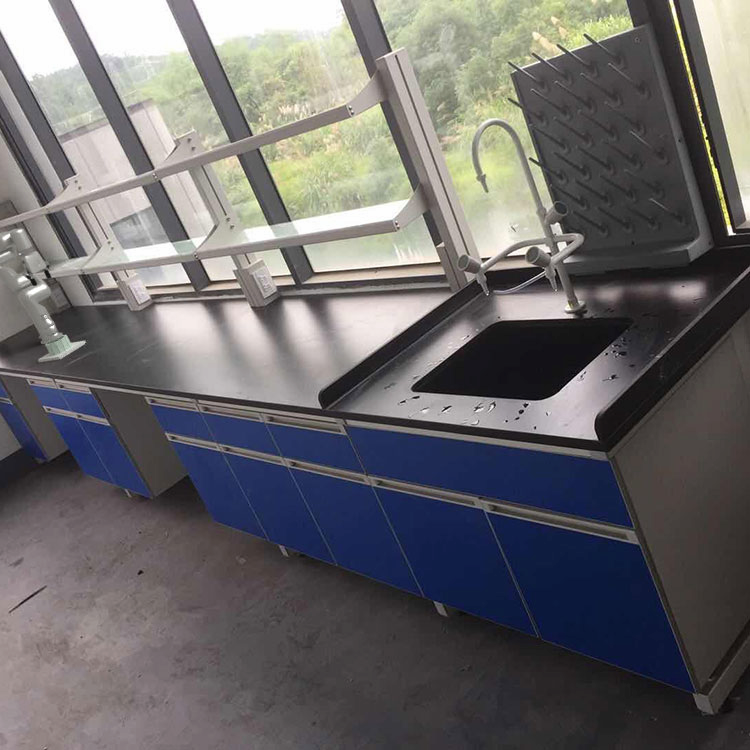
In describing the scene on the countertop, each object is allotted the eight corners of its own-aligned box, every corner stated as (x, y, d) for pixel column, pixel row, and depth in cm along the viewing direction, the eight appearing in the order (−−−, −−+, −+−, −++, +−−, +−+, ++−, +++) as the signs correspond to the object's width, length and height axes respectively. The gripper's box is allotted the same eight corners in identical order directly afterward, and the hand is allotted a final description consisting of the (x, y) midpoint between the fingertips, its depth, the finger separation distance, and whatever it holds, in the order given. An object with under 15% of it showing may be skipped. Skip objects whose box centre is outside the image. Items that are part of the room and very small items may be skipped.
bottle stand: (39, 362, 414) (32, 349, 411) (65, 346, 427) (58, 334, 425) (60, 359, 404) (52, 346, 401) (86, 343, 417) (79, 330, 415)
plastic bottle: (54, 354, 412) (36, 319, 404) (56, 350, 418) (37, 316, 411) (66, 349, 412) (48, 314, 405) (68, 346, 419) (50, 311, 412)
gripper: (18, 257, 412) (34, 287, 419) (44, 244, 425) (59, 274, 431) (9, 259, 417) (25, 289, 423) (35, 247, 429) (50, 276, 436)
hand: (42, 281), depth 427 cm, fingers open, 9 cm apart
